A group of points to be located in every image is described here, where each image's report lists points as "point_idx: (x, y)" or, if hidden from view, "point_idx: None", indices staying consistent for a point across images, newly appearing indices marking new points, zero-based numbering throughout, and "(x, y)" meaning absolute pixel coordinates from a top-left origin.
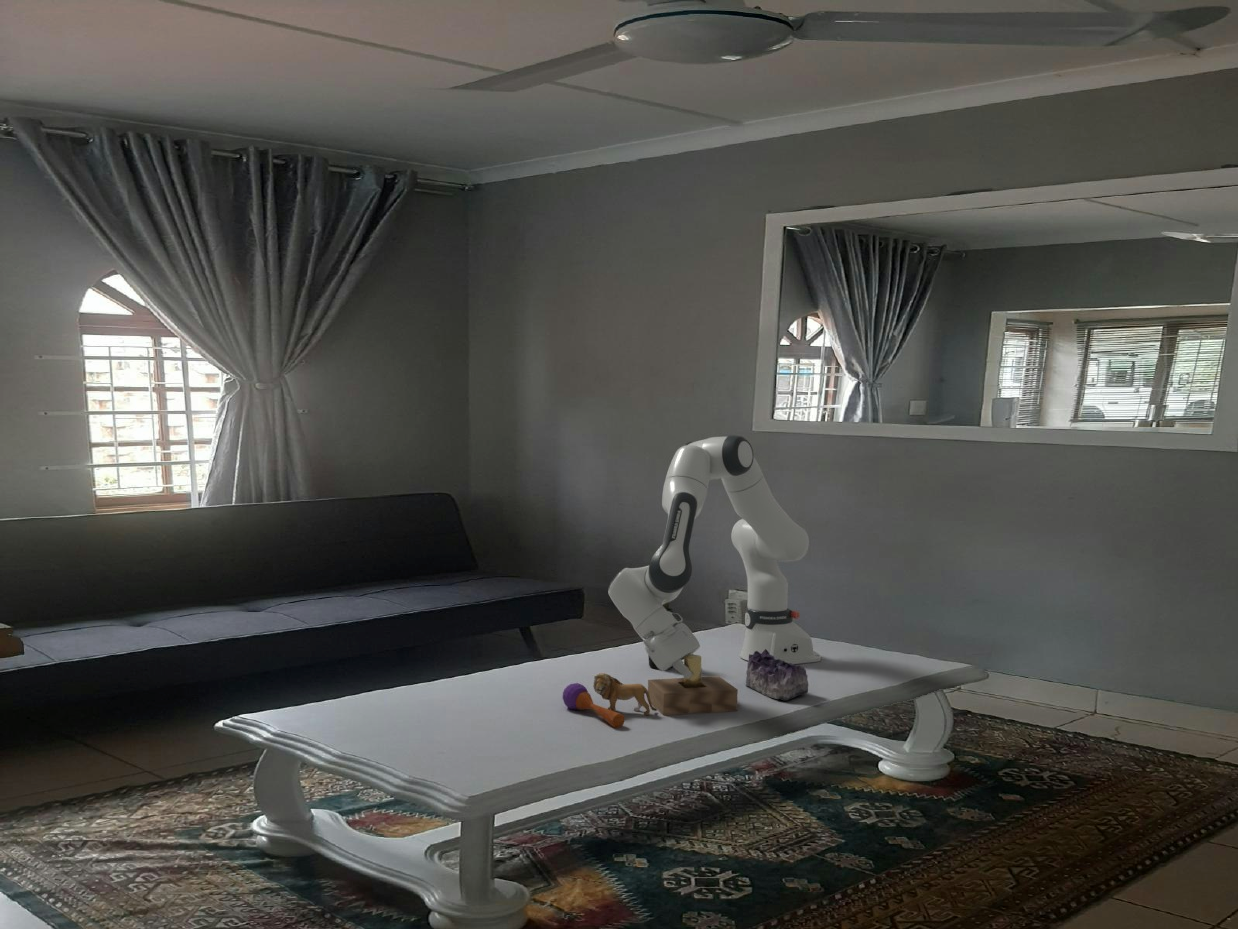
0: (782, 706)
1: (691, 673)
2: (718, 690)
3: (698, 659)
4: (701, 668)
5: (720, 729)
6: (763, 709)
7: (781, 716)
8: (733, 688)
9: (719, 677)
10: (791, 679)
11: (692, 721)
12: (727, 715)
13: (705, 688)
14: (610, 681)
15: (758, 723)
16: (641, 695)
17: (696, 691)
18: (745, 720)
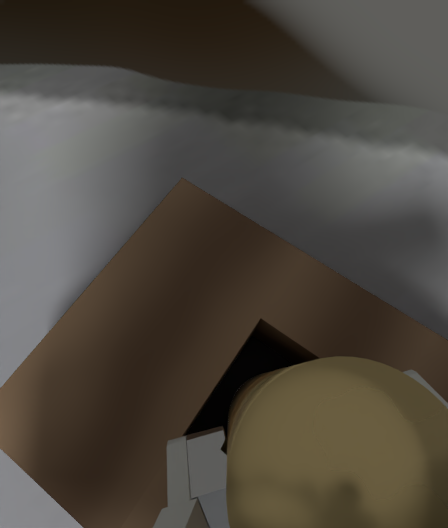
0: (32, 146)
1: (413, 376)
2: (272, 233)
3: (363, 360)
4: (170, 440)
5: (422, 153)
6: (109, 172)
7: (147, 97)
8: (180, 200)
9: (2, 398)
10: None
11: (441, 272)
12: (270, 221)
13: (295, 307)
14: None
15: (268, 108)
16: None
17: (389, 308)
18: (272, 149)
